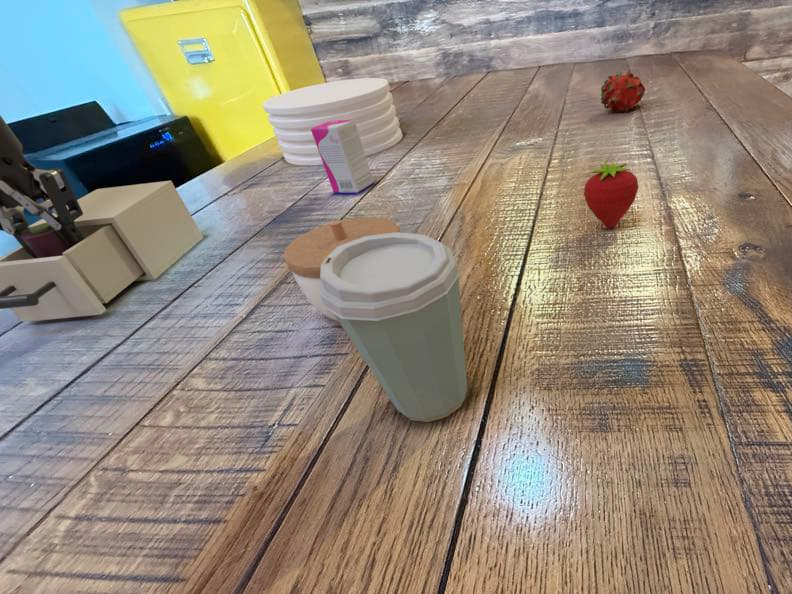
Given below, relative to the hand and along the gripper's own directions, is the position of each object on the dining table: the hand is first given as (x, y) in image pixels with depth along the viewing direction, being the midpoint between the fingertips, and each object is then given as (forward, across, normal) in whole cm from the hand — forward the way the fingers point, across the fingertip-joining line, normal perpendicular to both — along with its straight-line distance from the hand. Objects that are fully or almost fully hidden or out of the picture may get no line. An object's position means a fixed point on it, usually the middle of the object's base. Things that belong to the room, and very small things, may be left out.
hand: (63, 255), depth 69 cm
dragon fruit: (+7, -83, -72) cm, 110 cm away
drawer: (+6, 0, +2) cm, 6 cm away
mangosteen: (0, 0, 0) cm, 0 cm away
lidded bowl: (+7, -43, +10) cm, 45 cm away
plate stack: (+7, -16, -68) cm, 71 cm away
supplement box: (+7, -28, -36) cm, 46 cm away
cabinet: (+7, 0, -12) cm, 13 cm away
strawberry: (+7, -74, -6) cm, 75 cm away
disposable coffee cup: (+7, -54, +28) cm, 61 cm away
